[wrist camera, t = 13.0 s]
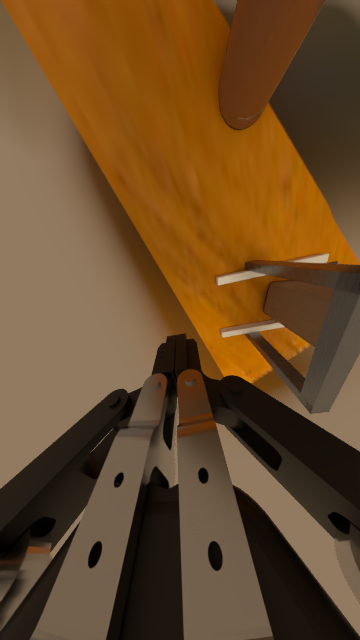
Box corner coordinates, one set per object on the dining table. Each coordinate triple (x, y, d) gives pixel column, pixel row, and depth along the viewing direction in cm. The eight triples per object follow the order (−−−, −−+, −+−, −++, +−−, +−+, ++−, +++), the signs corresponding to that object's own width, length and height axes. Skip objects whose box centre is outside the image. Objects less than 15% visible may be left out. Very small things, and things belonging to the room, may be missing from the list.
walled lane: (215, 276, 37) (217, 278, 35) (319, 253, 34) (329, 253, 32) (220, 333, 46) (222, 337, 44) (303, 318, 43) (310, 322, 41)
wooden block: (292, 310, 42) (376, 351, 24) (261, 312, 42) (321, 353, 24) (303, 279, 37) (416, 299, 20) (268, 281, 38) (348, 304, 20)
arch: (245, 262, 35) (368, 274, 12) (256, 260, 35) (404, 267, 12) (244, 334, 46) (310, 413, 23) (253, 332, 46) (328, 411, 22)
